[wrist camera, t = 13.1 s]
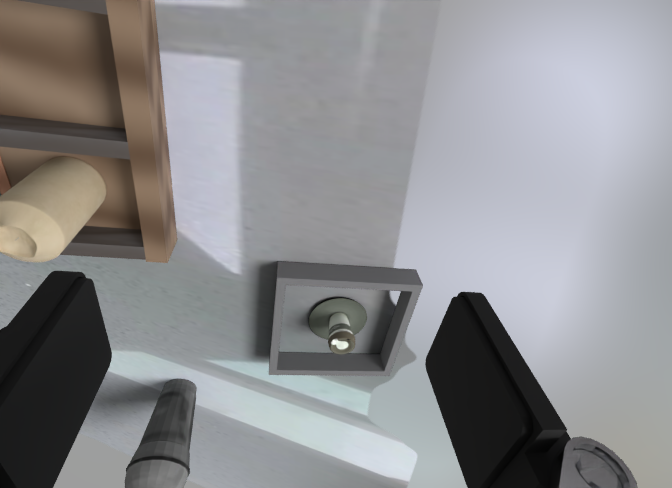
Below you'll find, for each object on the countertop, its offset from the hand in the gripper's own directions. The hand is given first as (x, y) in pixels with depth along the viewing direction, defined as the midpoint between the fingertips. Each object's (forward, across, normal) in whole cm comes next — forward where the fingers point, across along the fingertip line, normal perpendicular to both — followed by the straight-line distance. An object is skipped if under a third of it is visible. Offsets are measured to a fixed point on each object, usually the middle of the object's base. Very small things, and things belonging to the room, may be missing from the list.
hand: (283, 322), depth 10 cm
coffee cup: (+28, -9, +28) cm, 41 cm away
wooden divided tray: (+28, +18, +6) cm, 34 cm away
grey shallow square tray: (+28, -9, +28) cm, 41 cm away
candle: (+28, +19, +11) cm, 35 cm away
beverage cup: (+28, +12, +44) cm, 54 cm away
